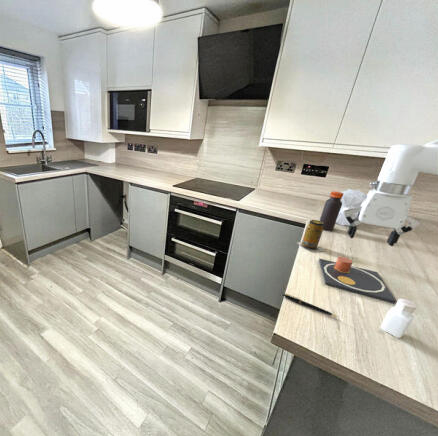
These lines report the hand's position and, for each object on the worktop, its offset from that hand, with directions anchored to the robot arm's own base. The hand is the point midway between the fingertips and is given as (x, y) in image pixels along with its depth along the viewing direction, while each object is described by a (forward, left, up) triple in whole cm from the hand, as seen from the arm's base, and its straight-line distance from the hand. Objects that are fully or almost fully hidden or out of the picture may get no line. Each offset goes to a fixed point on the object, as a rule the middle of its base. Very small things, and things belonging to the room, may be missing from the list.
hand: (369, 240), depth 75 cm
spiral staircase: (-10, -74, -17) cm, 77 cm away
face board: (-1, -3, -17) cm, 17 cm away
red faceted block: (+2, -7, -16) cm, 17 cm away
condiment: (+10, -24, -17) cm, 31 cm away
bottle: (+1, -54, -17) cm, 57 cm away
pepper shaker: (-5, +21, -17) cm, 27 cm away
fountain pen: (+14, +22, -17) cm, 31 cm away
